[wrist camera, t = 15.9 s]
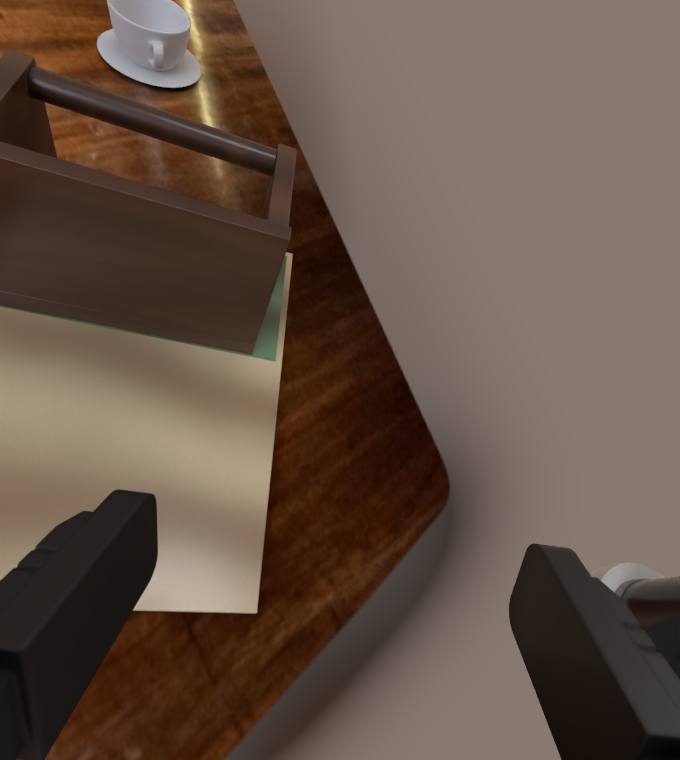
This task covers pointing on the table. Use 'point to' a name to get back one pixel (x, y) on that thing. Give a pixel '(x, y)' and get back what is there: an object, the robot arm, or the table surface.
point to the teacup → (150, 42)
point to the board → (144, 445)
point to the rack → (132, 222)
